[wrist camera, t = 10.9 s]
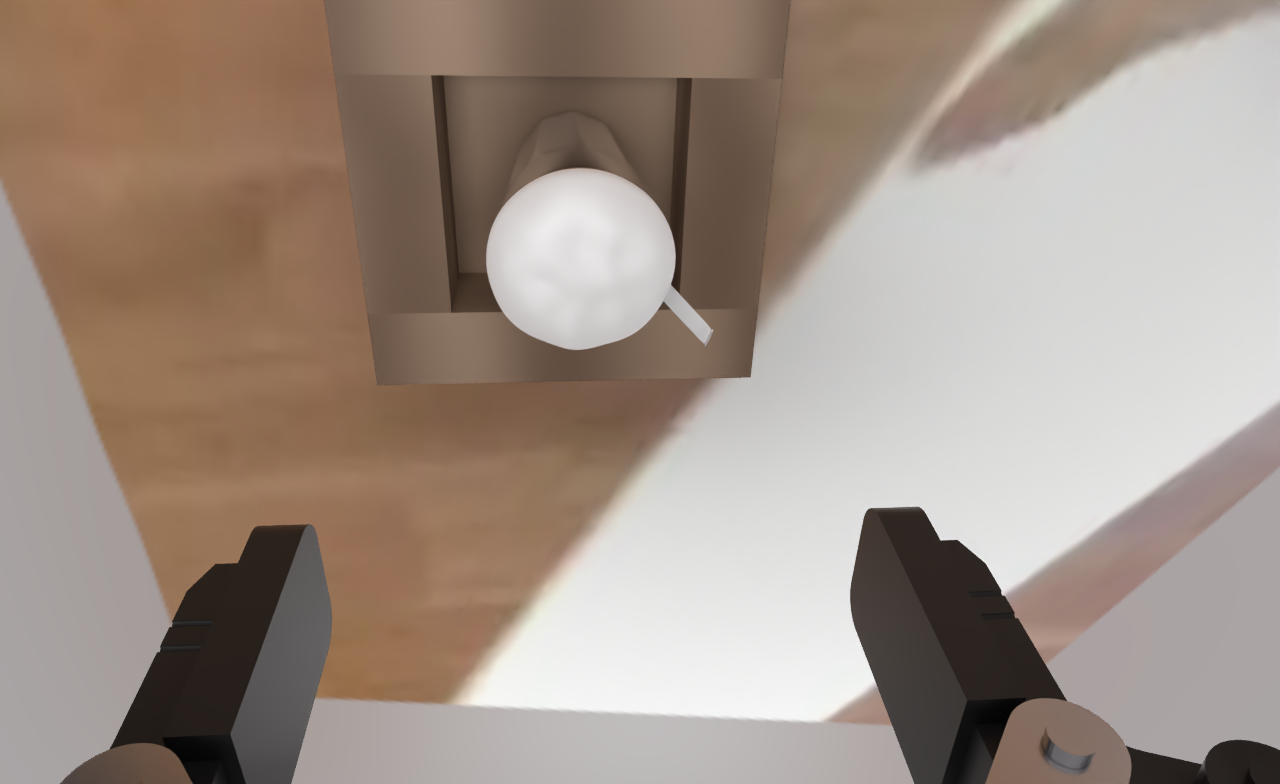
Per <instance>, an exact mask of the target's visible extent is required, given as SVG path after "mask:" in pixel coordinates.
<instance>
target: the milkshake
mask: <svg viewBox="0 0 1280 784" xmlns="http://www.w3.org/2000/svg"><path fill="white" fill-rule="evenodd" d="M675 260H676V254H675V245H674V240H673V236H672V232H671V230H670V227H669V225H668V222H667V220H666V218H665V216H664V215H663V213H662V211H661V210H660V208H659V207H658V205H657V204H656V202H655V201H654V199H653V198H652V196H651V195H650V194H649V192H648V191H647V189H646V188H645V186H644V185H643V183H642V182H641V181H640V179H639V178H638V177H637V175H636V174H635V172H634V170H633V168H632V166H631V164H630V163H629V161H628V159H627V157H626V155H625V153H624V152H623V150H622V148H621V147H620V145H619V144H618V142H617V141H616V139H615V137H614V136H613V134H612V133H611V131H610V129H609V128H608V126H607V125H606V123H605V122H602V121H600V120H597V119H595V118H592V117H589V116H587V115H584V114H582V113H579V112H577V111H570V112H566V113H563V114H559V115H555V116H551V117H547V118H544V119H542V120H541V121H540V122H539V123H538V125H537V126H536V127H535V129H534V130H533V131H532V132H531V134H530V135H529V136H528V138H527V139H526V140H525V141H524V143H523V144H522V145H521V148H520V151H519V154H518V157H517V160H516V163H515V166H514V170H513V173H512V176H511V179H510V182H509V185H508V188H507V192H506V195H505V197H504V200H503V202H502V204H501V207H500V209H499V211H498V214H497V216H496V218H495V221H494V223H493V226H492V228H491V231H490V234H489V238H488V243H487V251H486V267H487V274H488V278H489V282H490V285H491V288H492V291H493V294H494V296H495V299H496V301H497V303H498V305H499V306H500V308H501V310H502V311H503V313H504V314H505V315H506V317H507V318H508V319H509V320H510V321H511V322H512V323H513V324H514V325H515V326H516V327H518V328H519V329H520V330H522V331H523V332H525V333H527V334H528V335H530V336H532V337H535V338H537V339H539V340H542V341H544V342H547V343H550V344H553V345H555V346H558V347H562V348H565V349H571V350H583V349H589V348H594V347H597V346H601V345H605V344H608V343H612V342H615V341H619V340H622V339H624V338H626V337H629V336H630V335H632V334H634V333H635V332H637V331H638V330H639V329H641V328H642V327H643V326H644V325H645V324H646V323H647V322H648V321H649V320H650V319H651V318H652V317H653V316H654V314H655V313H656V312H657V310H658V309H659V307H660V306H661V304H662V302H663V301H664V302H665V303H666V305H667V306H668V307H669V308H670V309H671V310H672V311H673V312H674V313H675V314H676V316H677V317H678V318H679V319H680V320H681V321H682V322H683V323H684V324H685V326H686V327H687V328H688V329H689V330H690V331H691V332H692V333H693V334H694V335H695V337H696V338H697V339H698V340H699V341H700V342H701V343H702V344H703V345H704V346H706V345H707V343H708V341H709V339H710V337H711V335H712V333H713V329H712V328H711V327H710V326H709V325H708V323H707V322H706V321H705V320H704V319H703V318H702V317H701V316H700V315H699V314H698V313H697V312H696V311H695V310H694V309H693V307H692V306H691V305H690V304H689V303H688V302H687V301H686V300H685V299H684V298H683V297H682V296H681V295H680V294H679V293H678V292H677V290H676V289H675V288H674V287H673V286H672V285H671V282H672V279H673V275H674V269H675Z"/></svg>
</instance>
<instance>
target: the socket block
mask: <svg viewBox="0 0 1280 784" xmlns="http://www.w3.org/2000/svg"><path fill="white" fill-rule="evenodd" d="M324 2H325V10H326V17H327V24H328V31H329V39H330V46H331V53H332V60H333V68H334V75H335V82H336V89H337V96H338V104H339V111H340V118H341V125H342V133H343V140H344V147H345V154H346V162H347V169H348V176H349V183H350V191H351V198H352V205H353V212H354V219H355V227H356V234H357V241H358V248H359V256H360V263H361V270H362V277H363V285H364V292H365V299H366V306H367V313H368V321H369V328H370V335H371V342H372V350H373V357H374V364H375V371H376V379H377V385H405V384H453V383H501V382H549V381H597V380H645V379H693V378H741V377H751V367H752V358H753V348H754V339H755V330H756V320H757V311H758V301H759V292H760V282H761V273H762V264H763V254H764V245H765V235H766V226H767V217H768V207H769V198H770V188H771V179H772V170H773V160H774V151H775V141H776V132H777V123H778V113H779V104H780V94H781V85H782V75H783V66H784V57H785V47H786V38H787V28H788V19H789V10H790V0H324ZM570 111H577V112H579V113H582V114H584V115H587V116H589V117H592V118H595V119H597V120H600V121H602V122H605V123H606V125H607V126H608V128H609V129H610V131H611V133H612V134H613V136H614V137H615V139H616V141H617V142H618V144H619V145H620V147H621V148H622V150H623V152H624V153H625V155H626V157H627V159H628V161H629V163H630V164H631V166H632V168H633V170H634V172H635V174H636V175H637V177H638V178H639V179H640V181H641V182H642V183H643V185H644V186H645V188H646V189H647V191H648V192H649V194H650V195H651V196H652V198H653V199H654V201H655V202H656V204H657V205H658V207H659V208H660V210H661V211H662V213H663V215H664V216H665V218H666V220H667V222H668V225H669V227H670V230H671V232H672V236H673V240H674V245H675V254H676V260H675V269H674V275H673V279H672V282H671V285H672V286H673V287H674V288H675V289H676V290H677V292H678V293H679V294H680V295H681V296H682V297H683V298H684V299H685V300H686V301H687V302H688V303H689V304H690V305H691V306H692V307H693V309H694V310H695V311H696V312H697V313H698V314H699V315H700V316H701V317H702V318H703V319H704V320H705V321H706V322H707V323H708V325H709V326H710V327H711V328H712V329H713V333H712V335H711V337H710V339H709V341H708V343H707V345H706V346H704V345H703V344H702V343H701V342H700V341H699V340H698V339H697V338H696V337H695V335H694V334H693V333H692V332H691V331H690V330H689V329H688V328H687V327H686V326H685V324H684V323H683V322H682V321H681V320H680V319H679V318H678V317H677V316H676V314H675V313H674V312H673V311H672V310H671V309H670V308H669V307H668V306H667V305H666V303H665V302H664V301H663V302H662V304H661V306H660V307H659V309H658V310H657V312H656V313H655V314H654V316H653V317H652V318H651V319H650V320H649V321H648V322H647V323H646V324H645V325H644V326H643V327H642V328H641V329H639V330H638V331H637V332H635V333H634V334H632V335H630V336H629V337H626V338H624V339H622V340H619V341H615V342H612V343H608V344H605V345H601V346H597V347H594V348H589V349H583V350H571V349H565V348H562V347H558V346H555V345H553V344H550V343H547V342H544V341H542V340H539V339H537V338H535V337H532V336H530V335H528V334H527V333H525V332H523V331H522V330H520V329H519V328H518V327H516V326H515V325H514V324H513V323H512V322H511V321H510V320H509V319H508V318H507V317H506V315H505V314H504V313H503V311H502V310H501V308H500V306H499V305H498V303H497V301H496V299H495V296H494V294H493V291H492V288H491V285H490V282H489V278H488V274H487V267H486V251H487V243H488V238H489V234H490V231H491V228H492V226H493V223H494V221H495V218H496V216H497V214H498V211H499V209H500V207H501V204H502V202H503V200H504V197H505V195H506V192H507V188H508V185H509V182H510V179H511V176H512V173H513V170H514V166H515V163H516V160H517V157H518V154H519V151H520V148H521V145H522V144H523V143H524V141H525V140H526V139H527V138H528V136H529V135H530V134H531V132H532V131H533V130H534V129H535V127H536V126H537V125H538V123H539V122H540V121H541V120H542V119H544V118H547V117H551V116H555V115H559V114H563V113H566V112H570Z"/></svg>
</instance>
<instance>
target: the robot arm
mask: <svg viewBox="0 0 1280 784" xmlns="http://www.w3.org/2000/svg"><path fill="white" fill-rule="evenodd" d="M850 602H851V612H852V618H853V622H854V626H855V629H856V631H857V634H858V637H859V639H860V642H861V645H862V647H863V650H864V652H865V655H866V658H867V660H868V663H869V666H870V668H871V671H872V673H873V676H874V679H875V681H876V684H877V687H878V689H879V692H880V694H881V697H882V700H883V702H884V705H885V708H886V710H887V713H888V715H889V718H890V721H891V723H892V726H893V728H894V731H895V734H896V736H897V739H898V742H899V744H900V747H901V749H902V752H903V755H904V757H905V760H906V763H907V765H908V768H909V770H910V773H911V776H912V778H913V781H914V784H1280V750H1278V749H1276V748H1273V747H1271V746H1268V745H1264V744H1261V743H1258V742H1253V741H1247V740H1230V741H1226V742H1222V743H1219V744H1218V745H1216V746H1214V747H1213V748H1212V749H1211V750H1210V751H1209V753H1208V755H1207V756H1206V758H1205V760H1204V762H1203V764H1202V765H1201V764H1198V763H1193V762H1189V761H1184V760H1180V759H1175V758H1171V757H1166V756H1162V755H1157V754H1153V753H1148V752H1144V751H1140V750H1136V749H1133V748H1130V747H1128V746H1125V744H1124V742H1123V740H1122V739H1121V738H1120V736H1119V735H1118V734H1117V733H1116V731H1115V730H1114V729H1113V728H1112V727H1111V726H1110V725H1109V724H1108V723H1106V722H1105V721H1104V720H1102V719H1101V718H1100V717H1099V716H1097V715H1096V714H1094V713H1092V712H1091V711H1089V710H1087V709H1085V708H1083V707H1081V706H1079V705H1076V704H1073V703H1071V702H1068V701H1067V700H1066V698H1065V697H1064V695H1063V693H1062V692H1061V690H1060V688H1059V687H1058V685H1057V683H1056V682H1055V680H1054V678H1053V677H1052V675H1051V673H1050V671H1049V670H1048V668H1047V666H1046V665H1045V663H1044V661H1043V660H1042V658H1041V656H1040V655H1039V653H1038V651H1037V650H1036V648H1035V646H1034V645H1033V643H1032V641H1031V639H1030V638H1029V636H1028V634H1027V633H1026V631H1025V629H1024V628H1023V626H1022V624H1021V623H1020V621H1019V619H1018V618H1015V616H1014V611H1013V609H1012V608H1011V606H1010V604H1009V602H1008V601H1007V599H1006V597H1005V596H1002V594H1001V589H1000V587H999V586H998V584H997V582H996V581H995V579H994V577H993V576H992V574H991V572H990V571H989V569H988V567H987V565H986V564H985V563H984V562H983V561H982V560H981V559H979V558H978V557H977V556H976V555H975V554H974V553H972V552H971V551H970V550H969V549H968V548H966V547H965V546H964V545H963V544H962V543H960V542H959V541H958V540H945V541H940V539H939V537H938V535H937V533H936V532H935V530H934V528H933V526H932V524H931V522H930V521H929V519H928V517H927V515H926V514H925V512H924V511H923V510H922V509H921V508H920V507H897V508H870V509H868V510H867V512H866V514H865V516H864V520H863V525H862V530H861V535H860V540H859V546H858V551H857V556H856V561H855V566H854V572H853V577H852V582H851V590H850ZM172 622H173V625H172V627H169V629H168V631H167V633H166V635H165V637H164V639H163V641H162V644H161V646H160V647H161V650H160V652H158V653H157V654H156V656H155V658H154V660H153V662H152V664H151V666H150V668H149V670H148V672H147V674H146V677H145V678H144V680H143V683H142V685H141V687H140V689H139V691H138V693H137V695H136V697H135V699H134V701H133V703H132V705H131V707H130V709H129V711H128V713H127V715H126V717H125V719H124V721H123V724H122V726H121V728H120V730H119V732H118V734H117V736H116V738H115V740H114V742H113V744H112V746H111V747H110V749H109V750H107V751H105V752H103V753H101V754H98V755H96V756H95V757H93V758H91V759H89V760H88V761H86V762H84V763H83V764H82V765H80V766H79V767H77V768H76V769H75V770H74V771H72V772H71V773H70V774H69V775H68V776H67V777H66V778H65V779H64V780H63V781H62V782H61V783H60V784H291V782H292V779H293V775H294V771H295V768H296V764H297V761H298V757H299V753H300V750H301V746H302V743H303V739H304V735H305V731H306V728H307V725H308V721H309V717H310V714H311V710H312V707H313V703H314V699H315V696H316V692H317V689H318V685H319V681H320V678H321V674H322V671H323V667H324V664H325V660H326V656H327V653H328V649H329V645H330V639H331V629H332V611H331V602H330V597H329V592H328V587H327V583H326V578H325V573H324V568H323V563H322V558H321V553H320V548H319V543H318V539H317V534H316V531H315V529H314V527H313V526H312V525H310V524H308V525H276V526H257V527H255V528H254V529H253V531H252V533H251V534H250V537H249V539H248V541H247V544H246V546H245V548H244V551H243V553H242V555H241V557H240V560H239V562H238V563H233V564H215V565H214V566H213V567H212V568H211V569H210V570H209V571H208V572H207V573H206V574H205V575H203V576H202V577H201V578H200V579H199V580H198V581H197V582H196V583H195V584H194V585H193V586H192V587H191V588H190V589H189V590H188V591H187V592H186V594H185V596H184V598H183V600H182V602H181V605H180V607H179V609H178V611H177V613H176V615H175V617H174V619H173V621H172Z"/></svg>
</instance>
